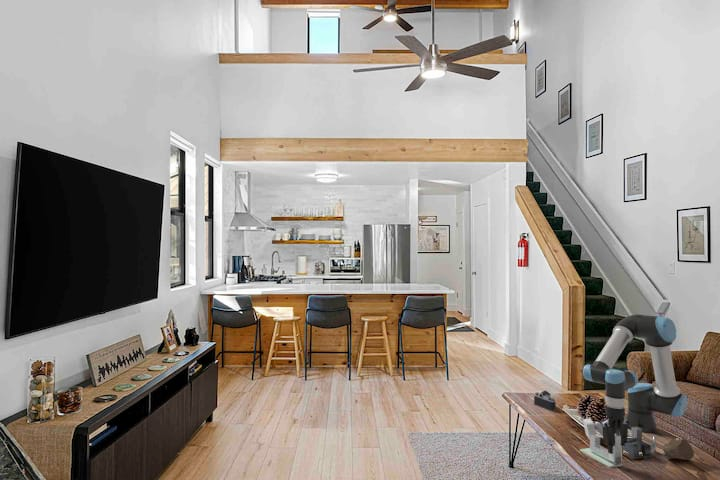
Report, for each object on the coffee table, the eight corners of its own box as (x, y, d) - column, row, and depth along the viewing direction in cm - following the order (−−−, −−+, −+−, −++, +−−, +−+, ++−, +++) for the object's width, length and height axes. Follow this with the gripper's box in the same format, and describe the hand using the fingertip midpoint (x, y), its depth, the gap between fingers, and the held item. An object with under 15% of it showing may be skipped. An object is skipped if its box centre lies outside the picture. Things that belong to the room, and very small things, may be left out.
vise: (648, 448, 227) (647, 422, 227) (662, 455, 219) (662, 429, 219) (606, 453, 220) (606, 427, 220) (620, 461, 212) (620, 434, 213)
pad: (592, 449, 225) (592, 447, 225) (622, 465, 208) (622, 464, 208) (579, 450, 223) (579, 449, 223) (609, 467, 206) (609, 465, 206)
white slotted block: (595, 449, 221) (595, 423, 222) (621, 463, 207) (620, 435, 207) (589, 450, 221) (589, 424, 221) (615, 464, 206) (615, 436, 206)
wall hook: (613, 442, 232) (608, 421, 233) (590, 444, 234) (586, 424, 235) (608, 435, 240) (603, 416, 241) (586, 438, 242) (582, 418, 243)
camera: (562, 410, 280) (562, 393, 280) (552, 412, 276) (552, 395, 277) (542, 402, 294) (542, 386, 294) (532, 404, 290) (532, 388, 291)
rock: (679, 467, 207) (679, 443, 207) (655, 457, 216) (655, 435, 216) (695, 461, 213) (695, 438, 213) (671, 452, 222) (671, 431, 222)
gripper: (623, 401, 214) (623, 454, 214) (593, 404, 210) (593, 458, 209) (636, 407, 207) (637, 461, 207) (606, 410, 203) (607, 466, 202)
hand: (615, 459), depth 208 cm, fingers closed on white slotted block, 3 cm apart
